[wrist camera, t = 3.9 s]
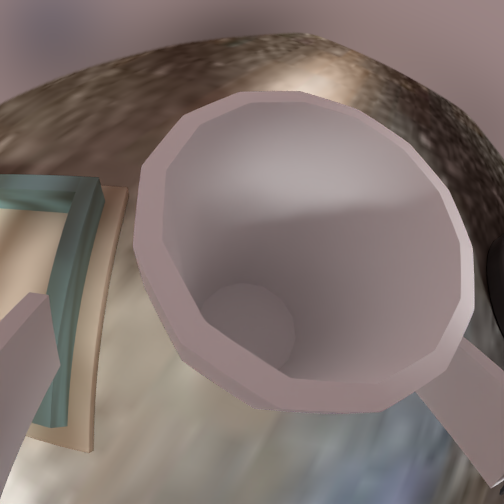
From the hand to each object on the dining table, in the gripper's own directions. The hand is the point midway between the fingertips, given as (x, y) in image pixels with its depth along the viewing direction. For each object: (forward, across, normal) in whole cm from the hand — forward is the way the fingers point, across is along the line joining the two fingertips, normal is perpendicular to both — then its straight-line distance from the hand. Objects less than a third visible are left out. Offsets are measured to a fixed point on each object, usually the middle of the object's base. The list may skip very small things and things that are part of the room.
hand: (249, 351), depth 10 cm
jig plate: (+8, -16, -4) cm, 18 cm away
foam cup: (+8, +1, -4) cm, 9 cm away
